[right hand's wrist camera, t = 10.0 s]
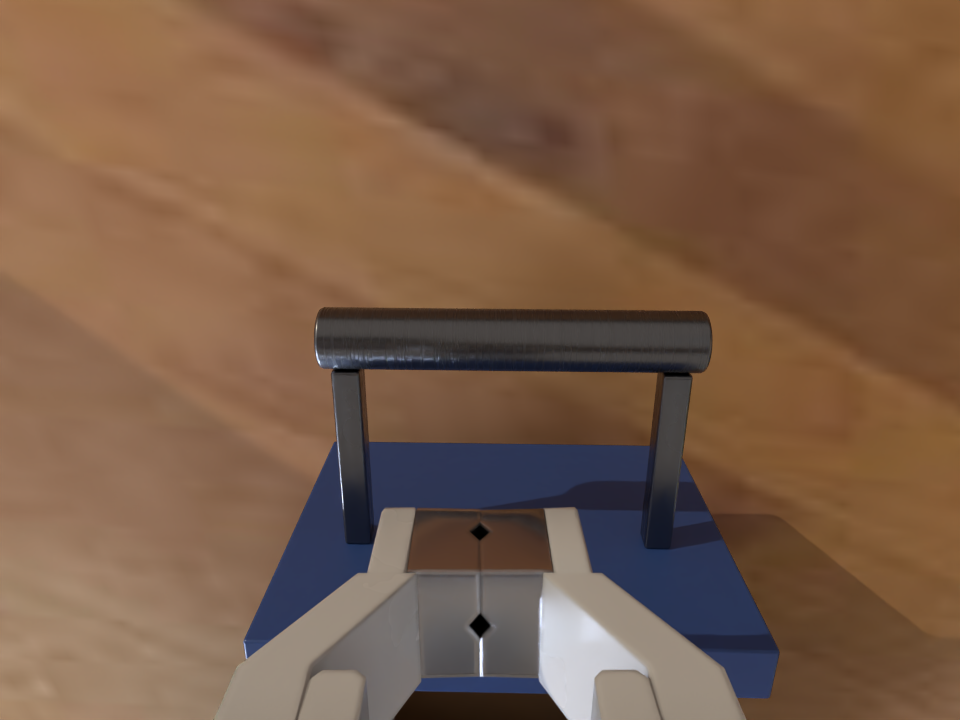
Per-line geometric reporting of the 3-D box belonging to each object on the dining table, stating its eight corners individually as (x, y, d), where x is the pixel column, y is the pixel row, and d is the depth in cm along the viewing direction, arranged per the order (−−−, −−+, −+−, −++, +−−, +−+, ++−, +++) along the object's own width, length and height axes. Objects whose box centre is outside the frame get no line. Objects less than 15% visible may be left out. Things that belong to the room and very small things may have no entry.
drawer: (317, 256, 18) (197, 370, 11) (700, 259, 18) (841, 377, 11) (369, 849, 27) (322, 1131, 20) (625, 855, 27) (673, 1143, 19)
